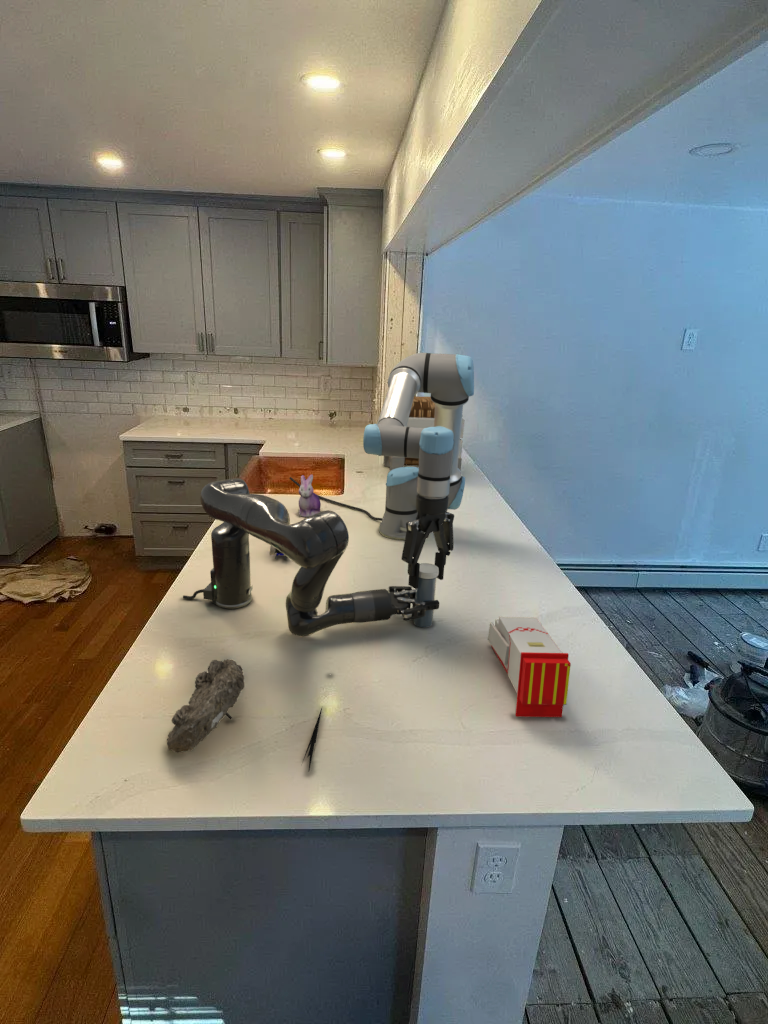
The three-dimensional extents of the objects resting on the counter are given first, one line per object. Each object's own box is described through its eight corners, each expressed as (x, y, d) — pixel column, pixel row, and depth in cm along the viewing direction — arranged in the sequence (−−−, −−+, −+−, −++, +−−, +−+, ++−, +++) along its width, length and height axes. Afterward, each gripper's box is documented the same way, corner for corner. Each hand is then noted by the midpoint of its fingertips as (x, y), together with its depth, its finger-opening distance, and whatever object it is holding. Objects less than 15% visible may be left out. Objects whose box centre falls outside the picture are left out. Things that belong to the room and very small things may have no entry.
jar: (409, 620, 145) (412, 568, 140) (424, 615, 147) (428, 564, 142) (421, 629, 141) (425, 576, 136) (436, 624, 144) (441, 572, 139)
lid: (431, 581, 136) (432, 575, 135) (410, 574, 139) (410, 568, 138) (442, 572, 140) (443, 567, 140) (421, 566, 143) (422, 560, 143)
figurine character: (291, 566, 174) (297, 542, 188) (290, 545, 171) (296, 522, 184) (269, 566, 174) (276, 541, 187) (268, 544, 171) (275, 521, 184)
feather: (331, 679, 122) (336, 673, 122) (307, 777, 96) (313, 769, 95) (324, 675, 122) (329, 669, 121) (298, 772, 95) (304, 764, 95)
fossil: (192, 660, 117) (244, 628, 112) (224, 691, 120) (276, 661, 115) (142, 746, 98) (202, 712, 93) (182, 779, 101) (242, 748, 96)
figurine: (302, 519, 209) (301, 480, 204) (293, 510, 217) (292, 472, 212) (325, 516, 213) (326, 477, 208) (316, 507, 222) (316, 470, 217)
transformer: (382, 463, 289) (386, 382, 275) (445, 464, 293) (451, 384, 279) (390, 482, 257) (394, 392, 243) (460, 483, 261) (468, 394, 247)
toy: (534, 602, 136) (579, 659, 107) (529, 653, 139) (572, 723, 110) (484, 601, 136) (516, 658, 107) (480, 652, 139) (510, 722, 109)
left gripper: (378, 606, 130) (446, 599, 135) (362, 579, 143) (425, 573, 148) (376, 635, 133) (444, 626, 138) (361, 605, 146) (423, 598, 150)
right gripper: (452, 483, 141) (445, 566, 149) (388, 497, 129) (384, 587, 137) (474, 491, 136) (465, 577, 144) (410, 506, 124) (404, 599, 131)
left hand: (434, 599), depth 143 cm, fingers closed on jar, 5 cm apart
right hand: (426, 581), depth 140 cm, fingers open, 8 cm apart
